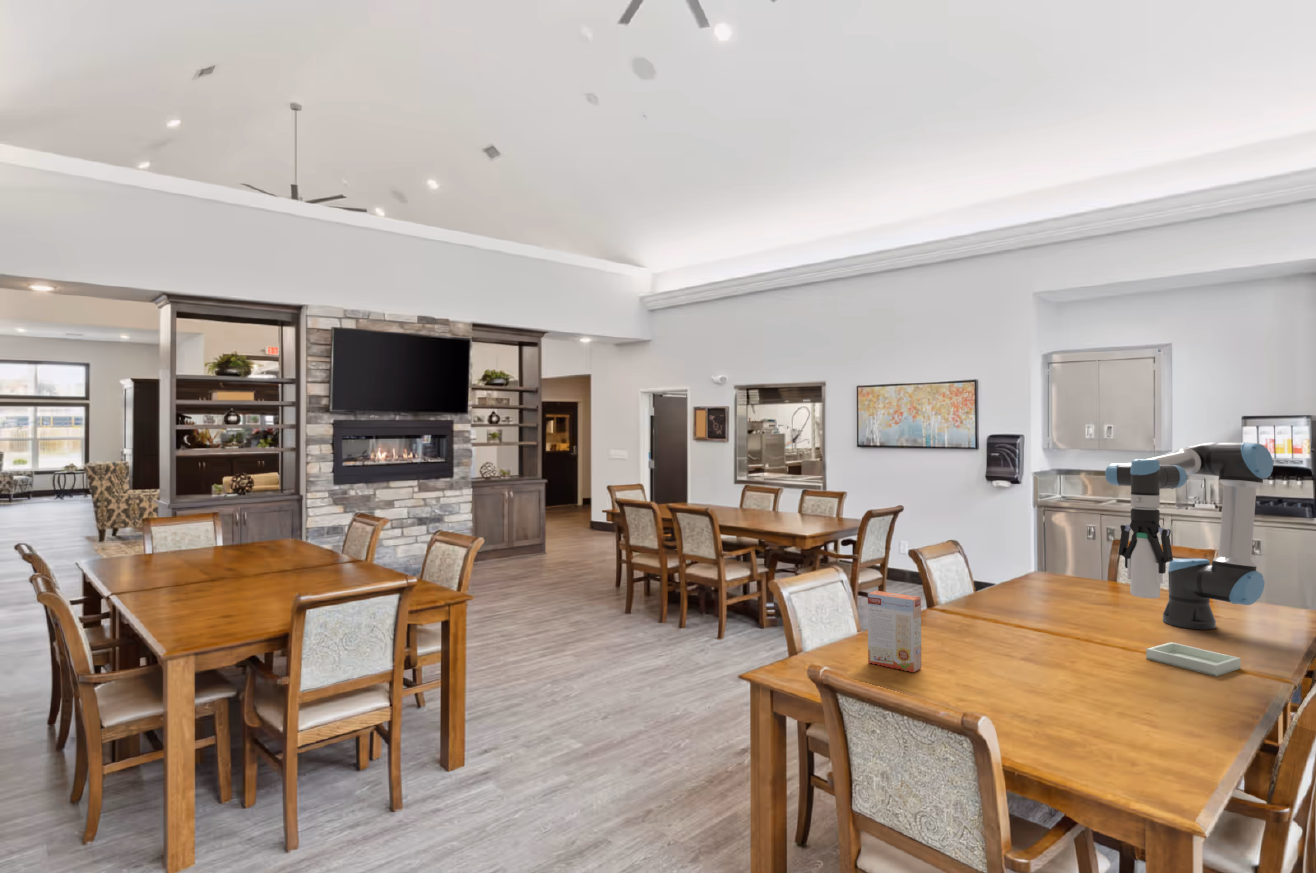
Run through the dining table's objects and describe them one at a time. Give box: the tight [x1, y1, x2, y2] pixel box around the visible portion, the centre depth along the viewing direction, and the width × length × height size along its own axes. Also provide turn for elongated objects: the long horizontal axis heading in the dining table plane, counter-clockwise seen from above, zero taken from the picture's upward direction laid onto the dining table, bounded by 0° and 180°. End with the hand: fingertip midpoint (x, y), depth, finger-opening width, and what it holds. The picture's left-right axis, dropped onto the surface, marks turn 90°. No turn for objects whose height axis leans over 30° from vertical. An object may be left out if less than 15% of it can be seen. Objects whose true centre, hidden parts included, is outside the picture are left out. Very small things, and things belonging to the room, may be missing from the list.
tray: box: [1145, 641, 1242, 677], centre depth 210 cm, size 14×18×3 cm
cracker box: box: [867, 590, 922, 673], centre depth 209 cm, size 14×6×21 cm, turn 47°
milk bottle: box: [1129, 532, 1161, 599], centre depth 224 cm, size 8×8×20 cm
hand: (1144, 581), depth 224 cm, fingers closed on milk bottle, 7 cm apart
